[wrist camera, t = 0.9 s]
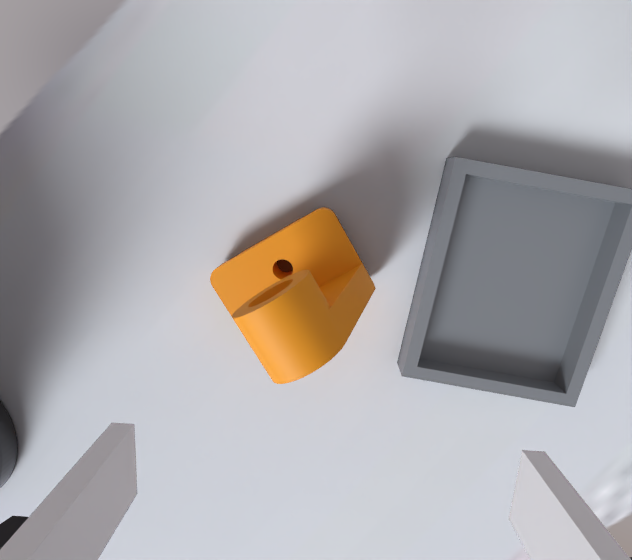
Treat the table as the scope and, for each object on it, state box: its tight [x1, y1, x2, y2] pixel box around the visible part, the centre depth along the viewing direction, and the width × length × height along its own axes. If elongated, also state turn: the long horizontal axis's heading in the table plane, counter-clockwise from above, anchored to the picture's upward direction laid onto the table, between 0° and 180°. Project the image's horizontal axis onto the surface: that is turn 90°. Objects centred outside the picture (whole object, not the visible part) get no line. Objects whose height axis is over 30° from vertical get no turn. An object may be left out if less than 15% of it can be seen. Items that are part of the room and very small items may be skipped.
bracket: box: [210, 207, 375, 384], centre depth 29 cm, size 11×7×12 cm, turn 120°
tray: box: [397, 157, 632, 407], centre depth 33 cm, size 14×17×2 cm
